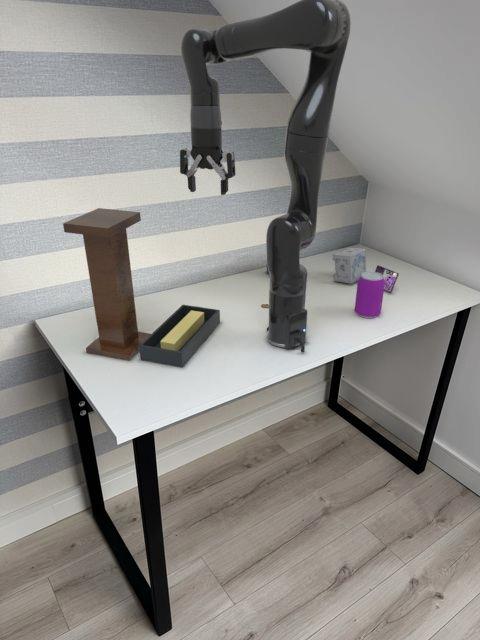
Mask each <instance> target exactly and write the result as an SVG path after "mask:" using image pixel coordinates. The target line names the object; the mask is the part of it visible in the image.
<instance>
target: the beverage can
mask: <svg viewBox="0 0 480 640" xmlns="http://www.w3.org/2000/svg"><path fill="white" fill-rule="evenodd" d="M384 280H385V278H384V274H383V275H382V274H381V273H378V272H375V271H373V270H371V271H366V272H363V273H362V274H361V276H360V278H359V280H358V282H357V285H356V294H355V302H354V312H355V313H356V314H357V316H359V317H361V318H364V319H373V318H377V317H378V316H380V315H381V313H382V306H383V300H384V292H385V291H384V289H385V287H386V285H385V282H384Z"/></svg>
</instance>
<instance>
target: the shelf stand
mask: <svg viewBox="0 0 480 640" xmlns="http://www.w3.org/2000/svg"><path fill="white" fill-rule="evenodd" d="M141 221H142V217H141V212H139V211H132V210H131V211H130V210H121V209H113V208H101V207H98V208H96V209H93V210H91V211H88V212H86V213H84V214H82V215H79V216H77V217H75V218H72V219H70V220H67V221H65V222H63V223H62V227H63V232H64V233H66V234H74V235H75V234H76V235H82V238H83V244H84V252H85V258H86V262H87V270H88V277H89V284H90V289H91V295H92V296H91V297H92V302H93V309H94V314H95V321H96V325H97V333H98V337H97V338H96V339H95V340H93V341H92V342H91V343H89V344H88V346H86V347H85V351H86V352H85V353H86V354H91V355H95V356H102V357H106V358H112V359H118V360H123V361H128V362H129V361H131V360H132V359H133V358H134V357H135V356H136V355H138V353H140V350H139V345H140V344H141V343H142V342H143V341H144V340H146V339H147V338H148V337H149V336H150V335H151V334H152V333H150V332H143V331H139V330H138V319H137V311H136V303H135V301H136V300H135V292H134V285H133V276H132V267H131V258H130V250H129V241H128V240H129V239H128V232H127V229H128V228H130V227H132V226H134V225H136V224H138V223H139V222H141Z"/></svg>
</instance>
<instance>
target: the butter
mask: <svg viewBox="0 0 480 640" xmlns="http://www.w3.org/2000/svg"><path fill="white" fill-rule="evenodd" d="M203 324H204V312H199V311H192V310H191V311H190V312H189V313H188V314H187V315H186V316H185V317H184V318H183V319H182V320H181V321H180V322H179V323H178V324H177V325H176V326H175V327H174V328H173V329H172V330H171V331H170V332H169V333H168V334H167V335H166V336H165V337H164V338H163V339H162V340H161V341H160V344H161V348H163V349H169V350H175V351H179V350H180V349H181V348H182V347H183V346H184V345H185V343H186V342H187V341H188V340H189V339H190V338H191V337H192V336H193V335H194V334H195V332H196V331H197V330H198V329H199V328H200V327H201V326H202V325H203Z"/></svg>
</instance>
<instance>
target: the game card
mask: <svg viewBox="0 0 480 640" xmlns="http://www.w3.org/2000/svg"><path fill="white" fill-rule="evenodd" d="M385 270H386V271H385ZM374 272H378V273H381V274H382V275H383V276H384V274H386V277H385V278H384V282H385V287H388V288H387V289H385V288H384V292H386V293H389V294H392V292H393V290H394V287H395V285H396V282H397V279H398V278H399V272H396V271H394V270H391V269H389V268H387V267H384V266H382V265H379V264H378V265H376V268H375V270H374Z"/></svg>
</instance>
